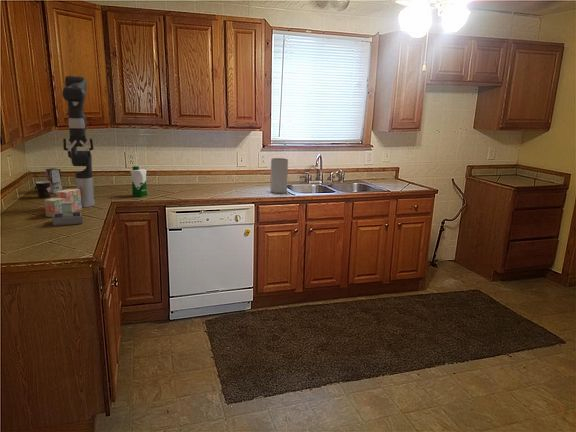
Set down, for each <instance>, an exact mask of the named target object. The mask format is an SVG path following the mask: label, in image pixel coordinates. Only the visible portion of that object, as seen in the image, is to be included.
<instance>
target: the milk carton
mask: <svg viewBox="0 0 576 432" xmlns="http://www.w3.org/2000/svg"><path fill="white" fill-rule="evenodd" d="M129 171H130V175H131V188H132V190H131V194H132V195H131V196H132V197H137V198H143V197H146V196H148V191H147V171H148V170H147V169H143V168H140V167H139V166H135V165H134V166H132V169H130V170H129Z"/></svg>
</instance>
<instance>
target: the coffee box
mask: <svg viewBox="0 0 576 432" xmlns="http://www.w3.org/2000/svg"><path fill="white" fill-rule="evenodd" d="M61 173H62V171H61V169H60V168H54V167H53V168H49V167H48V168H45V179H46V181H50V182H51V183H50V194H56V192H57V191H62V190H63V182H62V174H61Z"/></svg>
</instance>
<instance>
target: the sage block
mask: <svg viewBox="0 0 576 432" xmlns="http://www.w3.org/2000/svg"><path fill="white" fill-rule="evenodd" d="M62 215H63V217H73V213H72V202H62Z"/></svg>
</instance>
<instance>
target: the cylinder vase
mask: <svg viewBox="0 0 576 432" xmlns="http://www.w3.org/2000/svg"><path fill="white" fill-rule="evenodd" d="M288 163H289V159H288V158H283V157H282V158H281V157H273V158H271V161H270V192H271V193H272V192H273V193H274V194H285V193H287V191H288V173H289V172H288V169H289V167H288V166H289V164H288Z"/></svg>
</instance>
